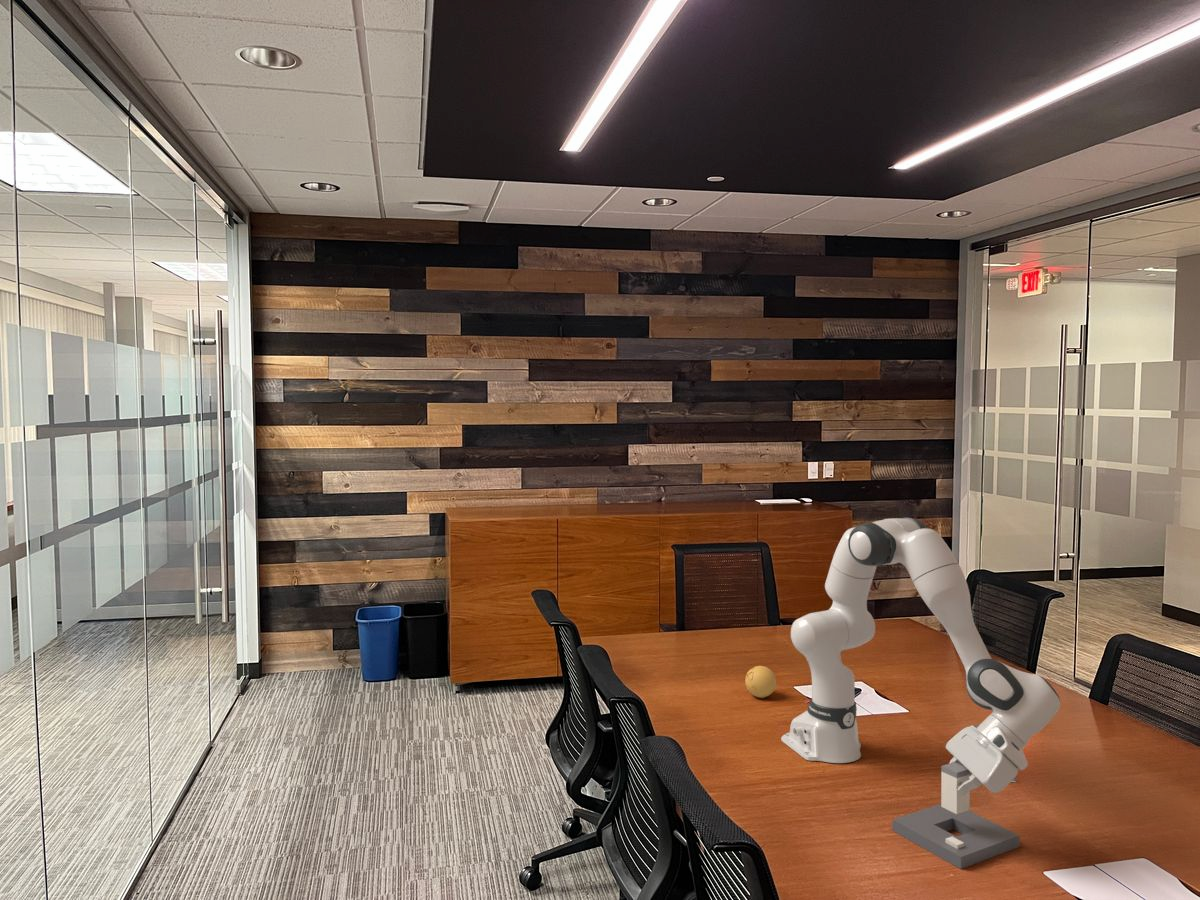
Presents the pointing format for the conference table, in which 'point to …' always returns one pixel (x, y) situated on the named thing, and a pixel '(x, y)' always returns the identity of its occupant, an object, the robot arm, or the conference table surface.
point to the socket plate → (962, 850)
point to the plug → (954, 788)
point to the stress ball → (760, 681)
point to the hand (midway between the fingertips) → (952, 784)
